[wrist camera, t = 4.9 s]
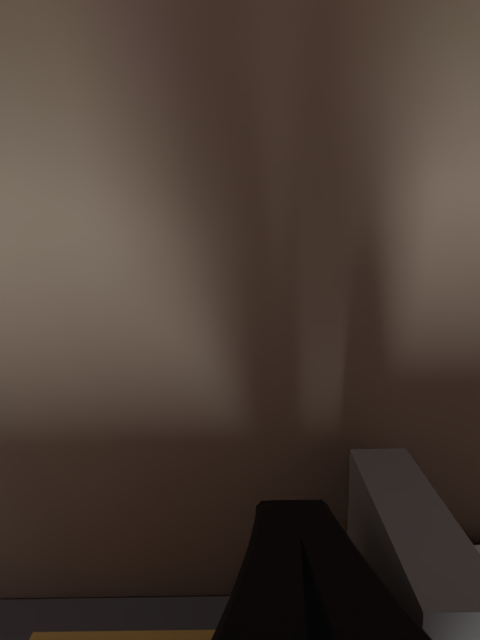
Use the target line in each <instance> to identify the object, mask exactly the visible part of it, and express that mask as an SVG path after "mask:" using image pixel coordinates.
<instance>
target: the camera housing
mask: <svg viewBox="0 0 480 640" xmlns="http://www.w3.org/2000/svg"><path fill="white" fill-rule="evenodd" d="M229 598H230V596H209V597H142V598H74V599H7V600H0V640H211V639H212V637H213V635H214V632H215V630H216V628H217V625H218V623H219V621H220V619H221V616H222V614H223V612H224V610H225V607H226V605H227V603H228V600H229Z"/></svg>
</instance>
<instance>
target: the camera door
mask: <svg viewBox="0 0 480 640" xmlns="http://www.w3.org/2000/svg"><path fill="white" fill-rule="evenodd" d="M347 535H348V537H349V538H350V539H351V541H352V542H353V544H354V545H355V546H356V548H357V549H358V550H359V552H360V553H361V554H362V556H363V557H364V558H365V560H366V561H367V562H368V564H369V565H370V566H371V567H372V569H373V570H374V571H375V572H376V574H377V575H378V576H379V577H380V579H381V580H382V581H383V582H384V584H385V585H386V586H387V587H388V589H389V590H390V591H391V593H392V594H393V595H394V596H395V597H396V599H397V600H398V601H399V602H400V603H401V604H402V606H403V607H404V608H405V609H406V610H407V612H408V613H409V614H410V615H411V616H412V617H413V618H414V620H415V621H416V622H417V623H418V624H419V625H420V626H421V627H422V629H423V630H424V631H425V632H426V633H427V634H428V635H429V637H430V638H431V639H432V640H480V545H473V544H472V542H471V541H470V539H469V538H468V536H467V535H466V534H465V532H464V531H463V529H462V528H461V526H460V525H459V524H458V522H457V521H456V519H455V518H454V516H453V515H452V514H451V512H450V511H449V509H448V508H447V506H446V505H445V503H444V502H443V501H442V499H441V498H440V496H439V495H438V493H437V492H436V491H435V489H434V488H433V486H432V485H431V483H430V482H429V481H428V479H427V478H426V476H425V475H424V473H423V472H422V471H421V469H420V468H419V466H418V465H417V463H416V462H415V460H414V459H413V458H412V456H411V455H410V453H409V452H408V450H407V449H406V448H380V449H350V460H349V496H348V532H347Z"/></svg>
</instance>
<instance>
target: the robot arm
mask: <svg viewBox="0 0 480 640" xmlns="http://www.w3.org/2000/svg"><path fill="white" fill-rule="evenodd" d="M211 640H432V639H431V638H430V637H429V635H428V634H427V633H426V632H425V631H424V630H423V629H422V627H421V626H420V625H419V624H418V623H417V622H416V621H415V620H414V618H413V617H412V616H411V615H410V614H409V613H408V612H407V610H406V609H405V608H404V607H403V606H402V604H401V603H400V602H399V601H398V600H397V599H396V597H395V596H394V595H393V594H392V593H391V591H390V590H389V589H388V587H387V586H386V585H385V584H384V582H383V581H382V580H381V579H380V577H379V576H378V575H377V574H376V572H375V571H374V570H373V569H372V567H371V566H370V565H369V564H368V562H367V561H366V560H365V558H364V557H363V556H362V554H361V553H360V552H359V550H358V549H357V548H356V546H355V545H354V544H353V542H352V541H351V539H350V538H349V537H348V535H347V534H346V532H345V531H344V530H343V528H342V527H341V525H340V524H339V522H338V521H337V519H336V518H335V516H334V515H333V513H332V512H331V510H330V508H329V507H328V505H327V504H326V503H325V502H324V501H323V500H273V501H261V502H260V503H259V504H258V505H257V506H256V515H255V521H254V526H253V531H252V535H251V538H250V542H249V545H248V548H247V552H246V555H245V558H244V561H243V563H242V566H241V569H240V572H239V575H238V577H237V580H236V583H235V586H234V588H233V591H232V593H231V596H230V598H229V600H228V603H227V605H226V607H225V610H224V612H223V614H222V616H221V619H220V621H219V623H218V625H217V628H216V630H215V632H214V635H213V637H212V639H211Z"/></svg>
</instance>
